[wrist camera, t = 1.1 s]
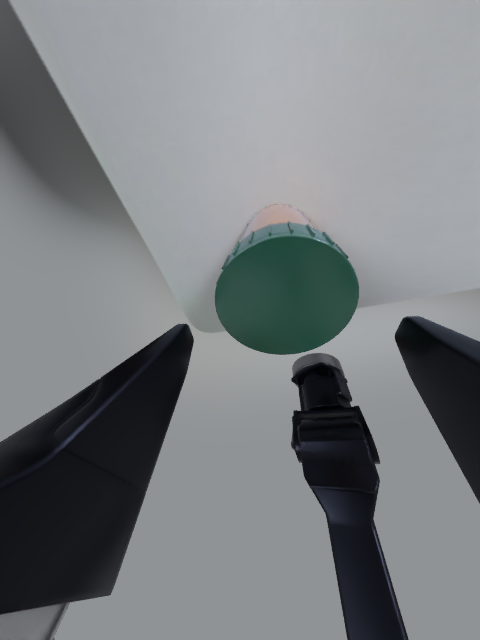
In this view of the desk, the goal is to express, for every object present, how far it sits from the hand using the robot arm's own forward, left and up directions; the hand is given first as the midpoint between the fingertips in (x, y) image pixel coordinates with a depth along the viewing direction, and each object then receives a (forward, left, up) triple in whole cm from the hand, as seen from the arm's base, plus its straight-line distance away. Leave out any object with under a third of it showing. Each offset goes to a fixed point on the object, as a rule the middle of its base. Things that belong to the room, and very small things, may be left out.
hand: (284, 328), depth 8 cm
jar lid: (0, 0, -2) cm, 2 cm away
